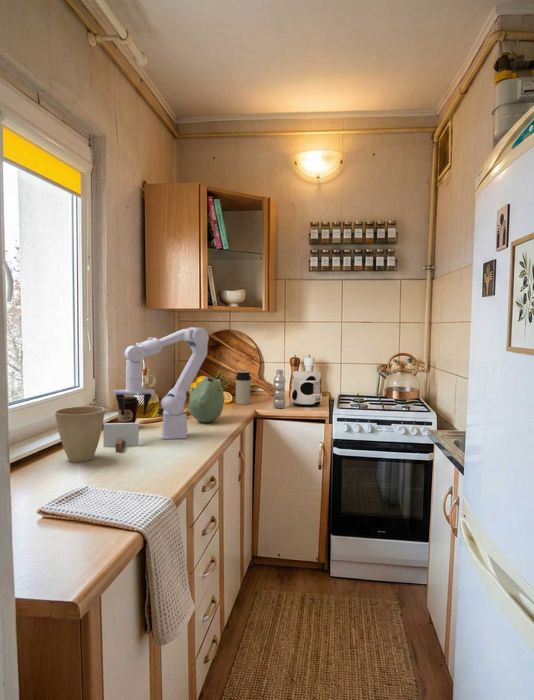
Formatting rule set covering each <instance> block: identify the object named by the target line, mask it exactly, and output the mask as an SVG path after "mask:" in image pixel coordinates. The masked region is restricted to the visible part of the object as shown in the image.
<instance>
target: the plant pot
mask: <svg viewBox="0 0 534 700" xmlns="http://www.w3.org/2000/svg"><path fill="white" fill-rule="evenodd" d="M105 413H106V409H105V408H104V407H102V406H91V405H90V406H84V405H83V406H73V407H65V408H59V409H56V410H55V411H54V414H55V420H56V425H57V431H58V434H59V438H60V441H61V444H62V447H63V450H64V453H65V455H66V457H67V460H68V461H69V462H71V463H80V462H81V463H82V462H83V463H84V462H88V461H91V460H93V458H94V457H95V454H96V451H97V448H98V445H99V441H100V438H101V435H102V434H101V433H102V429H103V424H104V420H105Z"/></svg>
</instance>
